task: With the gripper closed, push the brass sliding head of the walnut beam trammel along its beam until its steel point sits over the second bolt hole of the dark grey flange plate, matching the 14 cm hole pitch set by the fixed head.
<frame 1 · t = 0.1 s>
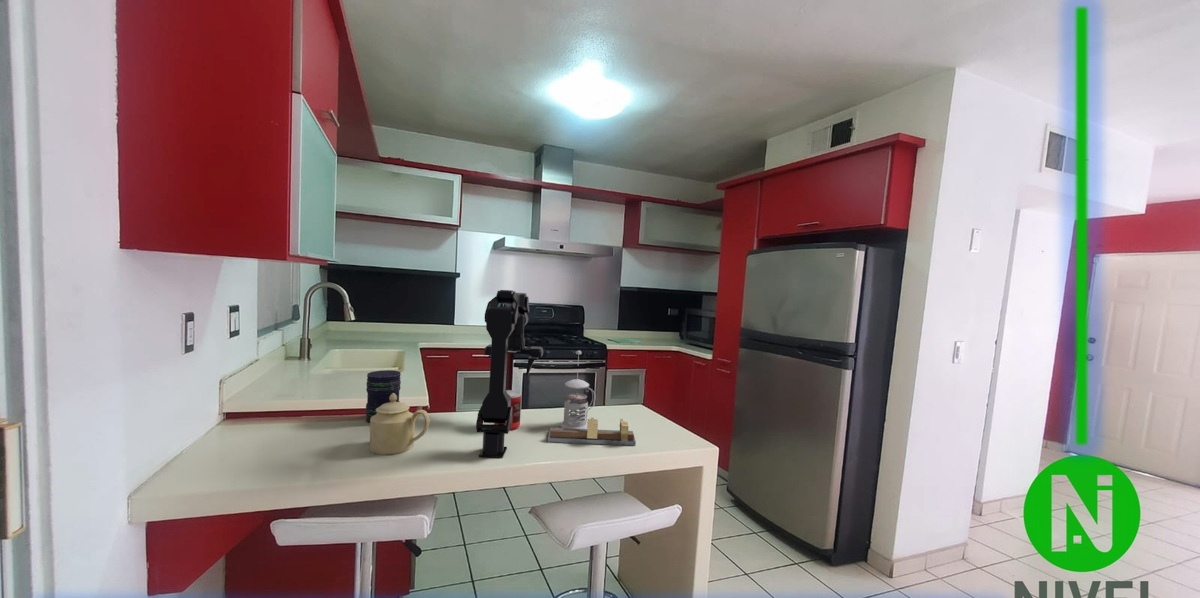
hand: (513, 376, 148), 15 cm above the worktop, fingers open, 9 cm apart
beam: (591, 441, 133), resting on plate
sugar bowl: (399, 447, 122), on the worktop
storage jar: (382, 420, 142), on the worktop
slider: (592, 427, 134), point 4 cm above the worktop, slide at 0.0 cm
canned food: (507, 427, 142), on the worktop
plate: (591, 438, 135), on the worktop
french press: (577, 425, 147), on the worktop
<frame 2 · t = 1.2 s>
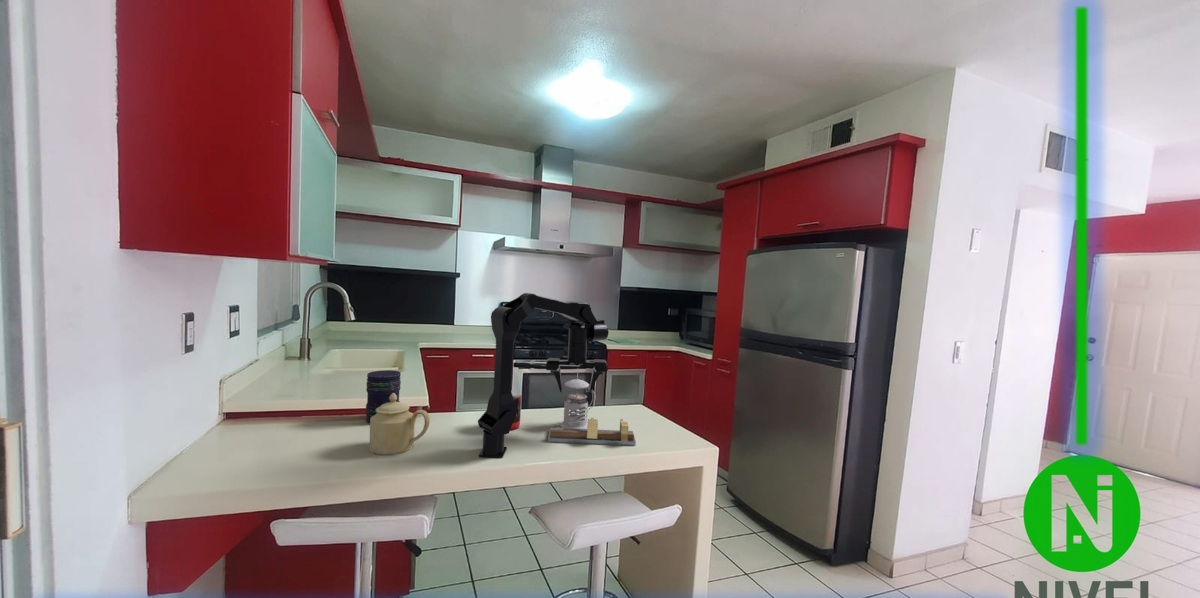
hand: (575, 392, 138), 13 cm above the worktop, fingers open, 9 cm apart
nothing on the worktop moved.
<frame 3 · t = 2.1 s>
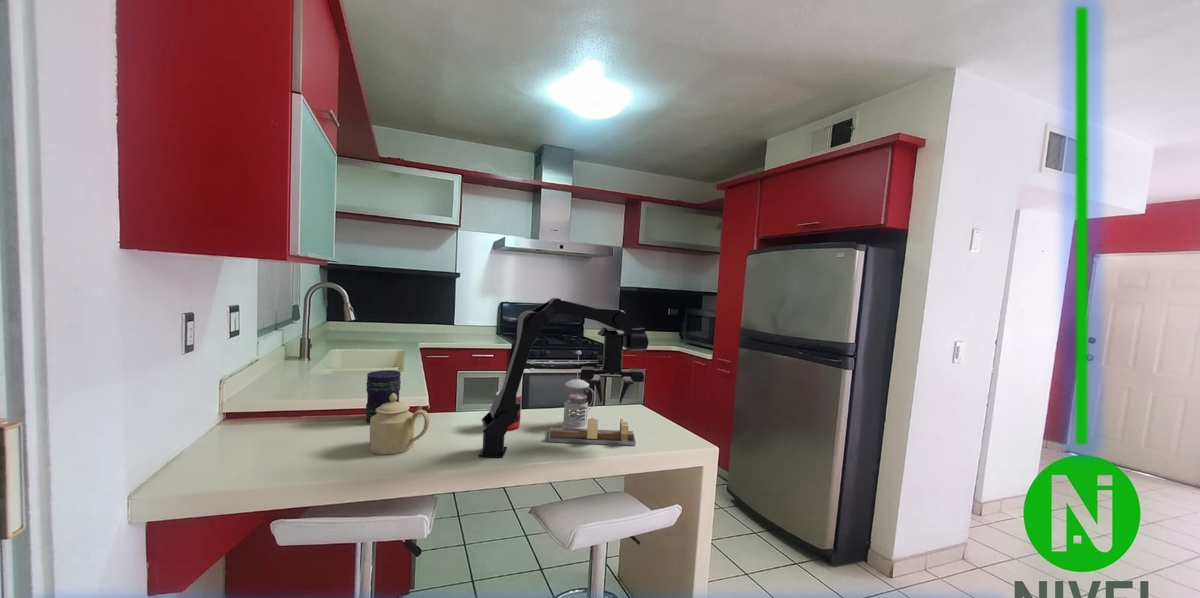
hand: (610, 402, 132), 12 cm above the worktop, fingers open, 5 cm apart
nothing on the worktop moved.
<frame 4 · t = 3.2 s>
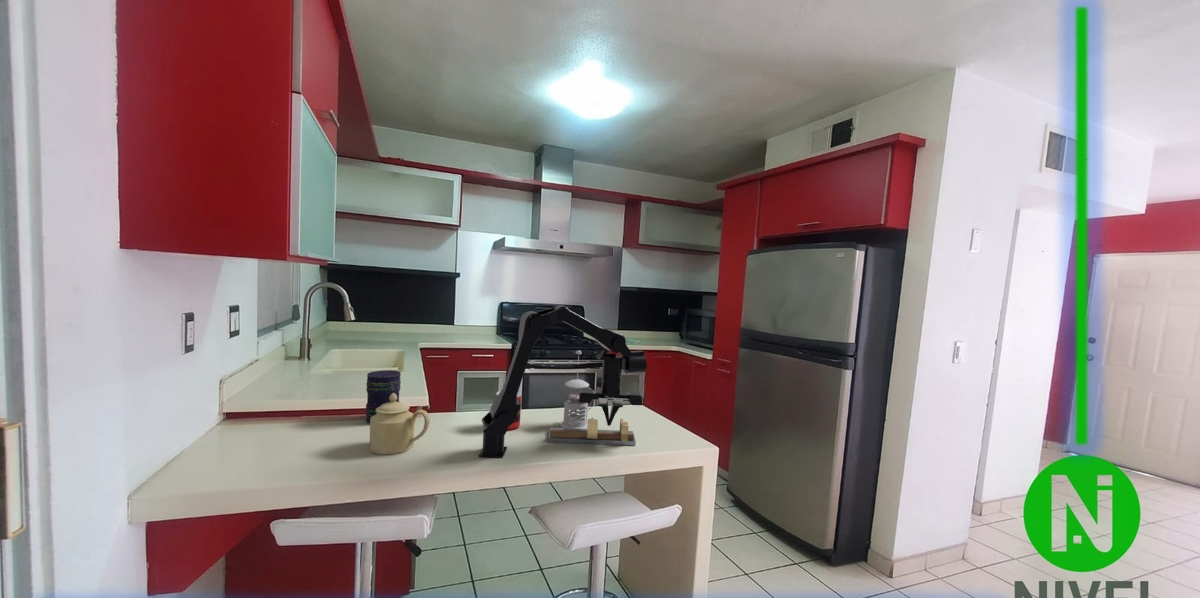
hand: (608, 425, 133), 5 cm above the worktop, fingers closed
nothing on the worktop moved.
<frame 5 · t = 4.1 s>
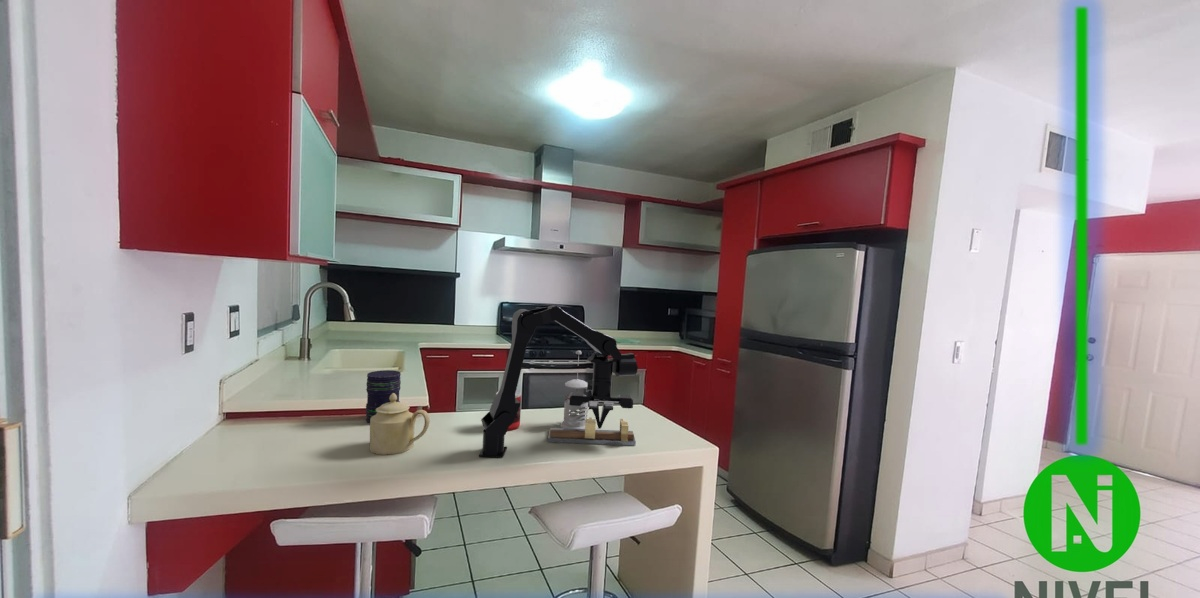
hand: (599, 428, 133), 4 cm above the worktop, fingers closed
slider: (590, 427, 134), point 4 cm above the worktop, slide at 0.7 cm, touching gripper
everything else where it was.
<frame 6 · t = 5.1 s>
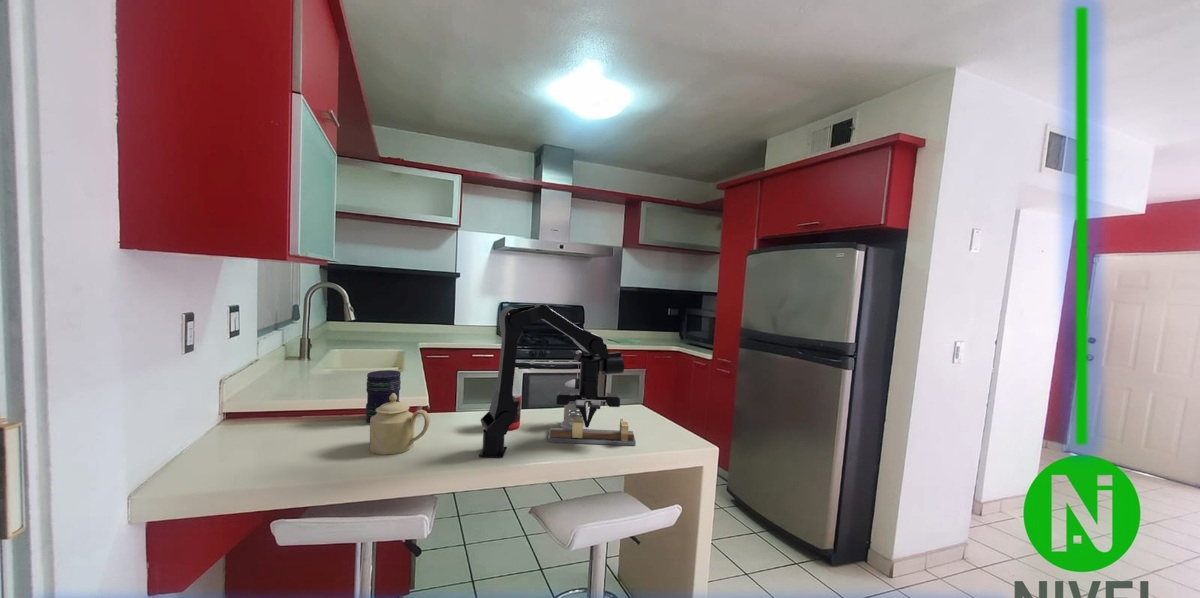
hand: (586, 427, 133), 4 cm above the worktop, fingers closed
slider: (577, 426, 134), point 4 cm above the worktop, slide at 4.4 cm, touching gripper
everything else where it was.
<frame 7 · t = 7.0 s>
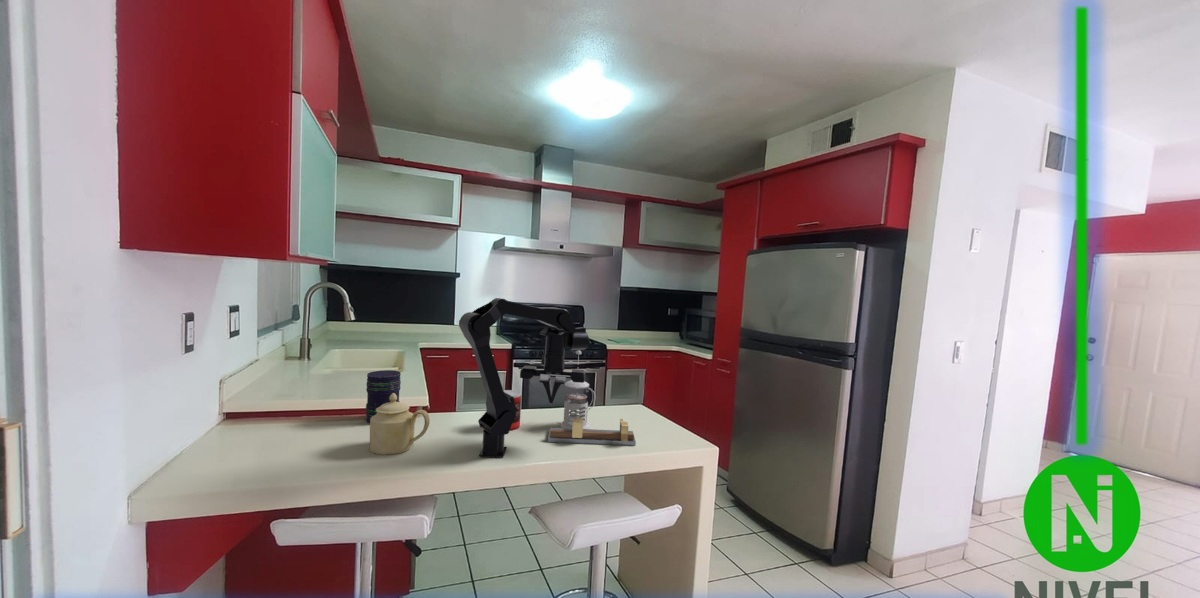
hand: (551, 402, 131), 12 cm above the worktop, fingers closed
slider: (577, 426, 134), point 4 cm above the worktop, slide at 4.4 cm
everything else where it was.
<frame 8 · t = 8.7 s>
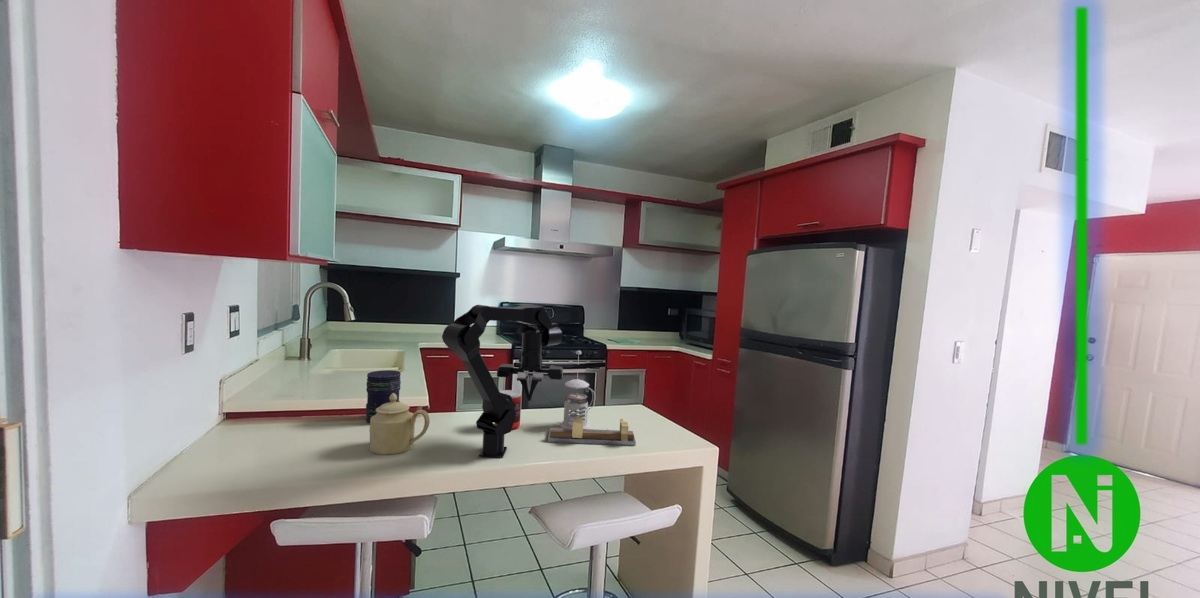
hand: (529, 400, 130), 12 cm above the worktop, fingers closed
nothing on the worktop moved.
at the end: slider slide at 4.4 cm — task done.
